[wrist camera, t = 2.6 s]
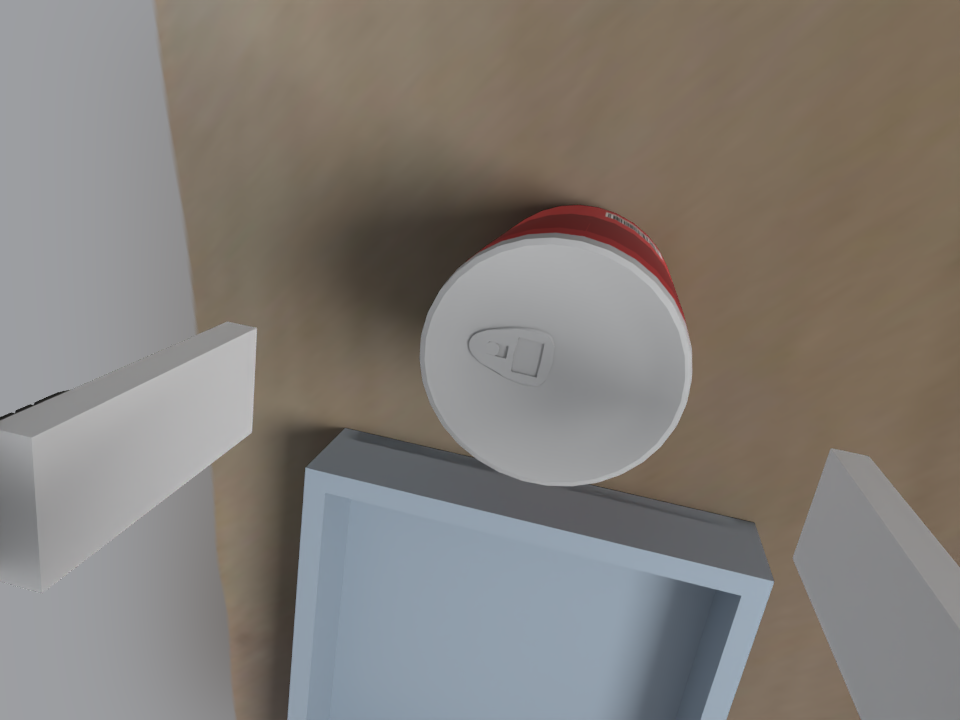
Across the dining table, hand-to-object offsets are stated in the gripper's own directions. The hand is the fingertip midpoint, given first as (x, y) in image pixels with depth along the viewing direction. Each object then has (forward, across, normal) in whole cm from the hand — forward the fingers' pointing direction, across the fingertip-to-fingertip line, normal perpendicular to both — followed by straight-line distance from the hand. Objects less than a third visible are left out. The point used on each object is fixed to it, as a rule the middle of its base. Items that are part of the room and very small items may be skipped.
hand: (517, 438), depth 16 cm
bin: (+16, 0, -19) cm, 24 cm away
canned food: (+16, 0, 0) cm, 16 cm away
